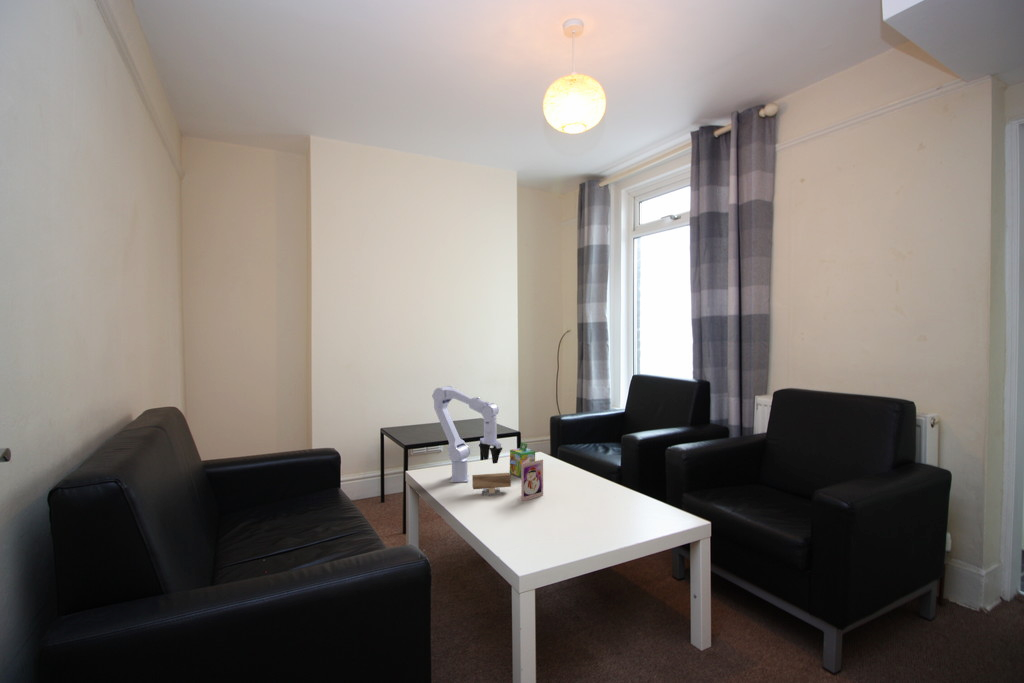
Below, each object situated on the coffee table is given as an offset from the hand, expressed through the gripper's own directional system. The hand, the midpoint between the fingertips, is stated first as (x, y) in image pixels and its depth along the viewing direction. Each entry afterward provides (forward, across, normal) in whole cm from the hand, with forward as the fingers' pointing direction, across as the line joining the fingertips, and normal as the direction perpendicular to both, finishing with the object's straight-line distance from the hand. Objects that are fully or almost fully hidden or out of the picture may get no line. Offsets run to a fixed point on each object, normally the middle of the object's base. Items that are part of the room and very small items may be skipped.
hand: (490, 461), depth 210 cm
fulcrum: (+10, +10, -6) cm, 15 cm away
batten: (+8, +10, -6) cm, 14 cm away
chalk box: (+11, -4, +21) cm, 24 cm away
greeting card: (+11, +22, +4) cm, 25 cm away
